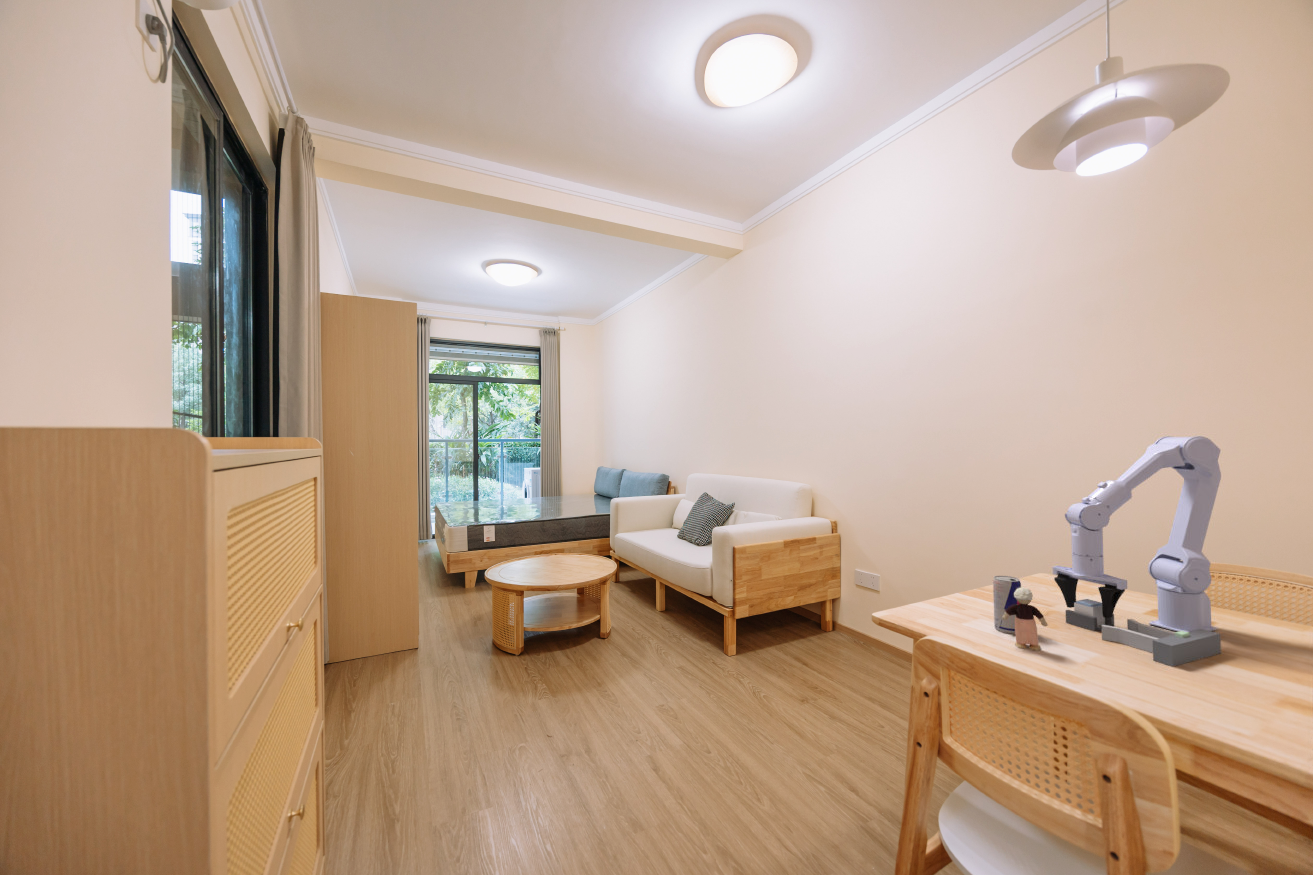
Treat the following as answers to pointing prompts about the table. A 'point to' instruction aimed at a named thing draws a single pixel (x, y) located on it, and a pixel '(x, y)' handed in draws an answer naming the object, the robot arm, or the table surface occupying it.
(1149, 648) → the grey forked block
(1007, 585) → the energy drink
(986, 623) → the table surface
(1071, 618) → the gray vise
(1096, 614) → the plug
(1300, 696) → the table surface
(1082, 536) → the robot arm
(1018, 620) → the grandmother figurine
